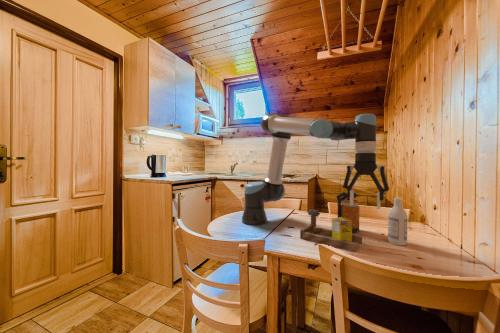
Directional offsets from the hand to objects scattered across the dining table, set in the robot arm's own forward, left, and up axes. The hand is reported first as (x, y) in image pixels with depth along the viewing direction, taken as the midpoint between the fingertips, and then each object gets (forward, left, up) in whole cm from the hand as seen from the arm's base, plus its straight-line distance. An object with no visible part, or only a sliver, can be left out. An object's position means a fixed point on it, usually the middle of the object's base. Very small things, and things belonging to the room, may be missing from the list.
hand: (364, 206), depth 89 cm
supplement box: (-9, 0, -18) cm, 20 cm away
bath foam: (+10, +16, -18) cm, 26 cm away
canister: (-12, +20, -18) cm, 29 cm away
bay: (-15, +2, -18) cm, 23 cm away
